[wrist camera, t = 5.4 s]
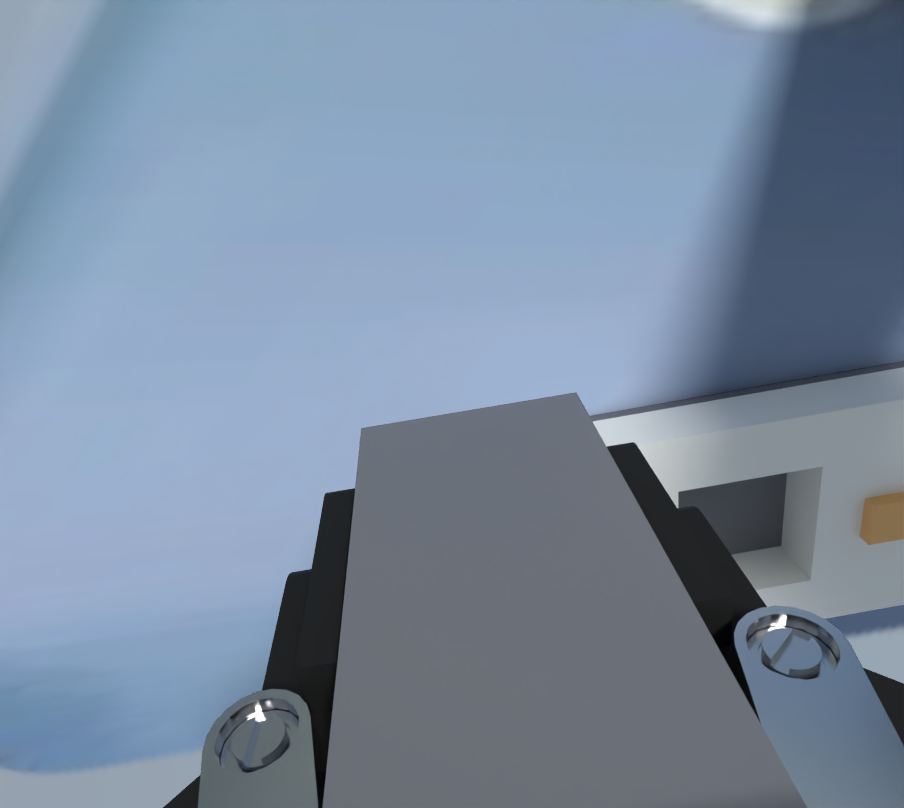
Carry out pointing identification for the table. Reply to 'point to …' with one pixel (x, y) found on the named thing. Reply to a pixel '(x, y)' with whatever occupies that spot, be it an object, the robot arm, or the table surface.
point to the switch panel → (791, 482)
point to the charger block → (526, 633)
